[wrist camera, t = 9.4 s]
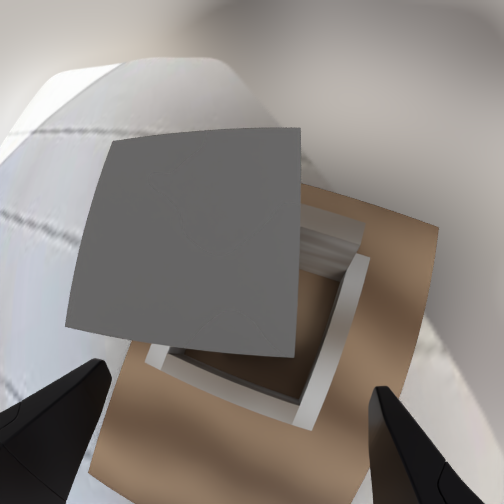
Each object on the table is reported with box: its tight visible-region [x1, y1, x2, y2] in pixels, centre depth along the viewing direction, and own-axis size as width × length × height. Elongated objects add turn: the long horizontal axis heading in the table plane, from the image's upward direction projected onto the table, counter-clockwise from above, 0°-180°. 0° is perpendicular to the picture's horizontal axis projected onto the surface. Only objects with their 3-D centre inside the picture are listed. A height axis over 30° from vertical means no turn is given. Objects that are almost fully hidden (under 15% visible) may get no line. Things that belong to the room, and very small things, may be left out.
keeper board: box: [88, 183, 439, 504], centre depth 14 cm, size 24×16×8 cm, turn 159°
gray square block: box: [65, 128, 301, 358], centre depth 11 cm, size 4×4×13 cm
